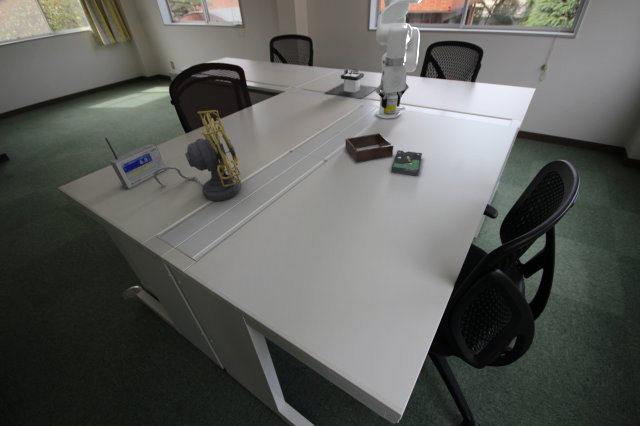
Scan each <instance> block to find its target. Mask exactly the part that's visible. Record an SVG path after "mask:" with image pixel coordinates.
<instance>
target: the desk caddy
mask: <svg viewBox="0 0 640 426" xmlns="http://www.w3.org/2000/svg"><path fill="white" fill-rule="evenodd" d="M344 143H345V147H344V148H345V151H346V152H347V153H348V154H349V155H350V157H351V158H352V160H354V162H355V164H357V163H362V162H367V161H373V160H374V161H375V160H378V159H383V158H384V159H385V158H389V157H393V154H394V153H393V152H394V144H392V142H390V141H389V140H388V139H387V138H386V137H385V136H383V135H382V134H381V133H380V132H379V133H371V134H365V135H361V136H353V137H348V138H345V142H344ZM376 145H378V146H377V147H371V148H365V149H361V150H358V149H359V148H364V147H370V146H376Z"/></svg>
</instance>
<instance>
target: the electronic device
mask: <svg viewBox="0 0 640 426" xmlns="http://www.w3.org/2000/svg"><path fill="white" fill-rule="evenodd" d="M105 141H106V144H107V145H108V147H109V148H110V151H111V152H112V155H113V156H114V158H113V159H111V160H109V163H110V165H111V166H112V167H111V168H113V170H114V172H115V174H116V175H117V177H118V180H119V181H120V183H121V184H122V186H123V187H124V188H126V189H128V190H130V189H131V188H133V187H135V186H137V185H139V184H141V183H143V182H145V181H147V180H149V179H151V178H154V172H155V171H156V170H157V169H159V168H161V167H165V166H166V165H165V163H164V160H163V157H162V156H161V153H160V151H159V149H158V145H157V144H155V143H152V142H151V143H148V144H145V145H143V146H140V147H139V148H136V149H133V150H131V151H129V152H126V153H124V154H122V155H120V156H117V154H116V152H115V150H114V148H113V146H112V144H111V143H110V140H109V139H108V138H107V137H105ZM166 170H167V169H164V170H161V171H159V172H158V173H157V175H159V174H160V173H162V172H165V171H166Z"/></svg>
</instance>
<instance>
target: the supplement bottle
mask: <svg viewBox="0 0 640 426" xmlns="http://www.w3.org/2000/svg"><path fill="white" fill-rule="evenodd" d="M386 99H387V105H386V108H385V109H384V114H385V115H387V116H392V115H395V114H396V109H397V100H398V95H396V92H392V93H388V94H387V97H386Z"/></svg>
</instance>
